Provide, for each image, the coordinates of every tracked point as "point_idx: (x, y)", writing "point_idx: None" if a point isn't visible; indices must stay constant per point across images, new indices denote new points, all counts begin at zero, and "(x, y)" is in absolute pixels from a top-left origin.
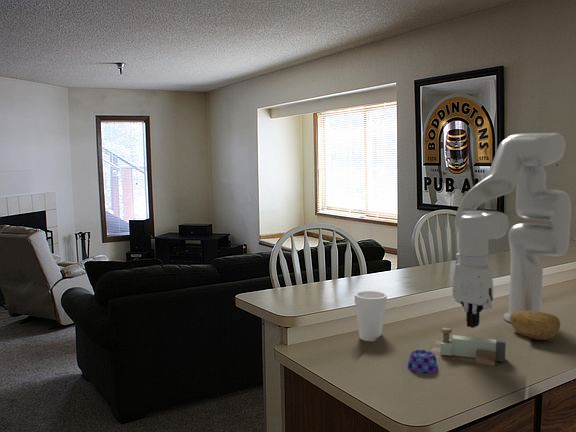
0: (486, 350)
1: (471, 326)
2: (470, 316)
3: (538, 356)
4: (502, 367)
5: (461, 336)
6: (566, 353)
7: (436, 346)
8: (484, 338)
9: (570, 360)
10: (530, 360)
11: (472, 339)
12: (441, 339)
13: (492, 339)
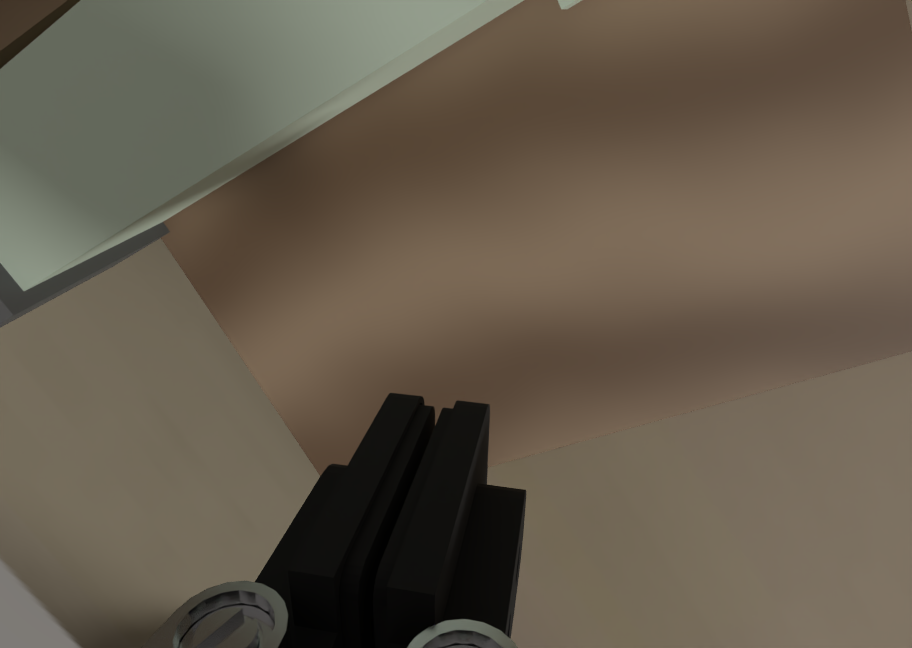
0: (26, 25)
1: (396, 400)
2: (355, 523)
3: (132, 519)
4: None
5: (381, 24)
6: (97, 642)
7: (855, 12)
8: (126, 224)
9: (6, 561)
10: (101, 423)
11: (173, 32)
12: (907, 311)
13: (53, 265)
